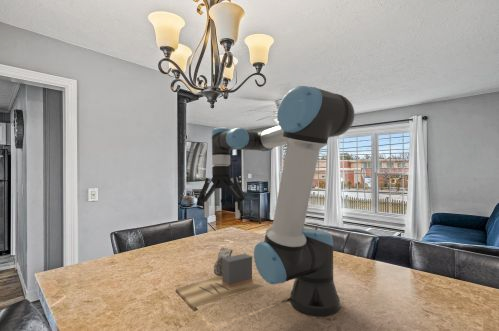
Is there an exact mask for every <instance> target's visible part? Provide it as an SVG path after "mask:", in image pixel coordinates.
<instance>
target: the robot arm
mask: <svg viewBox="0 0 499 331" xmlns="http://www.w3.org/2000/svg"><path fill="white" fill-rule="evenodd" d="M278 105H279V106H278V108H277V114H276V116H277V117H276V119H277V121H278V125H276V126H273V127H270V128H266V129H264V130H262V131H252V130H246V129H245V128H242V127H235V128H231V129H230V128H229V127H228V128H227V127H215V128H213V129H212V131H211V154H212V155H211V165H212V167H211V169H212V170H211V173H212V177H205V179H204V184H203V186H202V188H201V190H200V192H199V195H198V198H197V199H198V200H199V201H201V202H202V210H204V219H205V218H210V201H209V198H211V196H212V195H213V193H214V192H215V191H216V189H226V190H227V191H229V193H230V194H231V195H232V197H233V198H234V199H235V203H234V205H235V206H234V208H235V219H236V220H238V219H240V217H241V215H240V213H241V212H240V211H241V210H242V205H243V204H242V202H243V201H245V200H247V197H246V195H245V193H244V191H243V188H242V187H241V185H240V183H239V182H240V181H239V177H237V176H235V177H231V172H232V171H231V166H230V165H231V150H243V151H244V150H245V151H259V152H261V151H262V152H269V151H273V149H274V148H276V147H277V148H278V147H281V146H284V145H285V146H286V150H285V154H284V160H283V166H282V170H281V176H280V182H279V183H280V184H279V187H278V188H279V189H278V192H277V199H276V203H275V204H276V205H275V210H274V216H273V221H272V225H271V226H270V227H268V228H267V229H266V231H265V236H264V240H263V241H260V242H258V243H257V244H255V246H254V248H253V260H254V263H255V267H256V270H257V272H258V274H259V276H260V277H261V278H262V279H263V281H265V282H266V283H268V284H270V285H279V284H284V283H286V282H288V281H292V280H294V281H293V285H292V289H291V291H290V297H289V298H290V305H291V306H292V307H293V308H294V309H295V310H297V311H298V312H300V313H303V314H306V315H311V316H317V317H324V316H325V317H326V316H331V315H334V314H336V313H337V312H338V311H339V310H340V308H341V306H340V297H339V295H338V291H337V289H336V285H335V282H334V240H333V236H332V234H331V233H330V232H327V231H323V230H319V229H314V228H305V223H306V219H307V218H306V217H307V213H308V208H309V203H310V198H311V193H312V189H313V183H314V179H315V174H316V169H317V164H318V159H319V154H320V150H321V149H322V148H324V147H326V146H327V145H328V142H329V141H328V140H329V138H333V137H339V136H341V135H343V134H345V133H346V132H348V130H349V129H350V128H351V127H352V125H353V123H354V120H355V109H354V106H353V104H352V102H351V101H350V100H349V99H348V98H347V97H346V96H344V95H342V94H338V93H335V92H331V91H327V90H325V89H322V88H318V87H314V86H307V85H297V86H295V87H293V88H292V89H290V90H289V91H288V92H287V93H286V94H284V95H283V97H282V98H281V101H280V103H279V104H278ZM211 182H212V185H211V186H210V184H211ZM231 182H232V183H233V185H234V187H235V188H236V190H235V189H234V188H233V186H232V185H231ZM209 187H210V189H209Z"/></svg>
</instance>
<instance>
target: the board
mask: <svg viewBox="0 0 499 331" xmlns="http://www.w3.org/2000/svg"><path fill="white" fill-rule="evenodd" d="M260 287H263V285H261V284H259V283H258V282H256V281H255V280H253V279H252V281H250V282H247V283H244V284H240V285H237V286H233V287H230V288H229V287H227V286H226V285H225V284H223V283H222V275H221V276H218V277H214V278H210V279H206V280H203V281H199V282H193V283H192V284H191V283H190V284H188V285H182V286H179V287H176V288H175V292H176V293H177V294H178V295H179V296H180V298H182V299H183V301H184V302H185V303H186V304H187V305H188V306H189V307H190V308H191V310H193V311H198V308H197V307H201V306H203V305H206V304H210V303H213V302H216V301H220V300H223V299H225V298H228V297H231V296H235V295H238V294H242V293H244V292H247V291H250V290H254V289H257V288H260Z"/></svg>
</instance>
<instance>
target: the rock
mask: <svg viewBox="0 0 499 331" xmlns="http://www.w3.org/2000/svg"><path fill="white" fill-rule="evenodd" d="M232 254H233V249H231V248H224V247H221V248H220V250H219V252H218V254H217V258H216V260H215V262H214V265H213V273H214V274H217V275H220V274H221V275H222V258H226V257H230V256H232Z"/></svg>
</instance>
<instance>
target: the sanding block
mask: <svg viewBox="0 0 499 331" xmlns="http://www.w3.org/2000/svg"><path fill="white" fill-rule="evenodd" d="M221 276H222V283H223V284H225V285H226V286H227V287H229V288H230V287H233V286H237V285H240V284H244V283H247V282H250V281H252V280H253V256H251V255H249V254H247V253H240V254H236V255H231V256H230V257H226V258H222V273H221Z"/></svg>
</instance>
